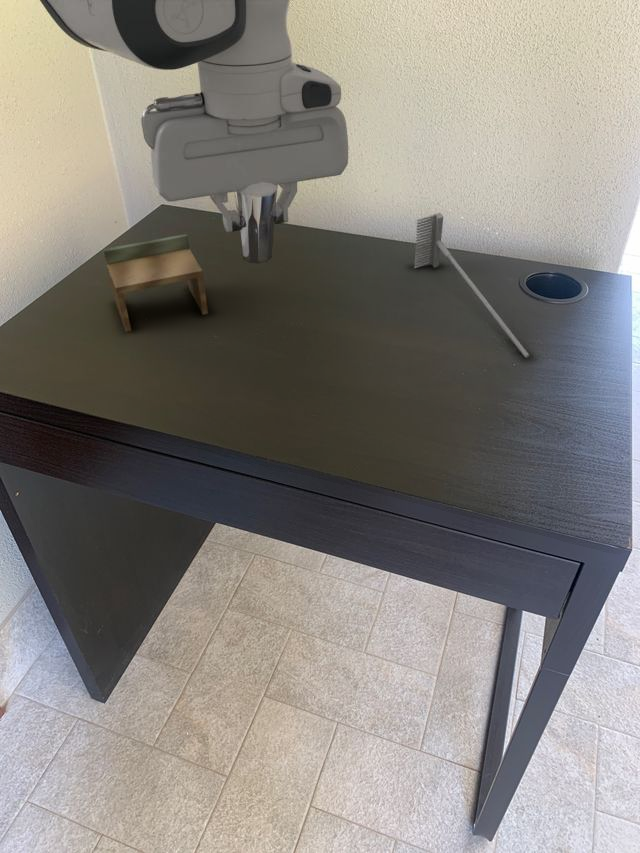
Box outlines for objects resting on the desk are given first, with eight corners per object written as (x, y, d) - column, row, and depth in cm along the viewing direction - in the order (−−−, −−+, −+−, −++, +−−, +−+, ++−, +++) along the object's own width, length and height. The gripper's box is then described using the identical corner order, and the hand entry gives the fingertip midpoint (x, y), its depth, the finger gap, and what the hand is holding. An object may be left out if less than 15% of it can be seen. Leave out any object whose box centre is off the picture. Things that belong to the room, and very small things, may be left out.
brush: (499, 388, 93) (510, 339, 86) (414, 268, 110) (416, 218, 102) (524, 379, 94) (537, 330, 87) (435, 261, 110) (440, 212, 103)
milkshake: (288, 251, 78) (288, 161, 71) (265, 270, 74) (263, 177, 68) (253, 242, 79) (251, 153, 73) (228, 260, 75) (224, 169, 69)
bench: (125, 331, 96) (112, 274, 90) (116, 304, 102) (102, 249, 96) (208, 313, 100) (200, 257, 94) (194, 288, 105) (186, 233, 99)
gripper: (144, 110, 60) (168, 254, 69) (356, 84, 66) (353, 221, 75) (131, 91, 64) (155, 229, 74) (331, 69, 70) (331, 200, 79)
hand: (256, 225), depth 74 cm, fingers closed on milkshake, 4 cm apart
